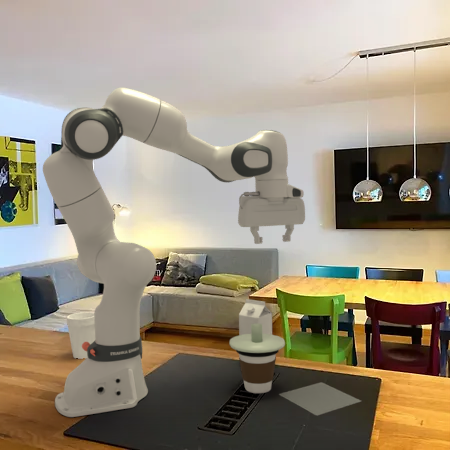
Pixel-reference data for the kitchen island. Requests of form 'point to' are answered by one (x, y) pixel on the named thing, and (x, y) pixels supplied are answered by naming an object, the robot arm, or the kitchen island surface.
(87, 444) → the kitchen island surface
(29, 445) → the kitchen island surface
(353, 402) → the mat
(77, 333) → the foam cup
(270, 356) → the coffee cup
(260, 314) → the milk carton
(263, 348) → the lid
